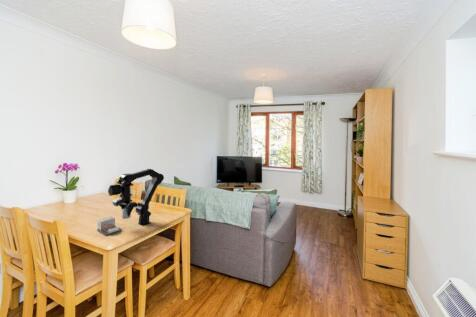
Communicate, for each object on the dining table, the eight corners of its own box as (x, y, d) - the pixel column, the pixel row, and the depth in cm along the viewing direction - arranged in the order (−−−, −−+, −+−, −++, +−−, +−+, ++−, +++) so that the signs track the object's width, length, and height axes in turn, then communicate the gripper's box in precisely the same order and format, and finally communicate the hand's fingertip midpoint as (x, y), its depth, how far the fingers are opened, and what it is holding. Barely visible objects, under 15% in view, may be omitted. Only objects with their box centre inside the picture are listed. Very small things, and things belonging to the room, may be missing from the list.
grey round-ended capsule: (128, 215, 161) (128, 207, 160) (132, 217, 158) (131, 208, 157) (121, 217, 157) (120, 209, 156) (124, 219, 154) (124, 210, 153)
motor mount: (112, 226, 163) (112, 216, 162) (121, 230, 155) (121, 220, 154) (97, 230, 155) (96, 220, 154) (105, 236, 147) (105, 225, 146)
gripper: (107, 192, 155) (107, 215, 156) (120, 197, 144) (121, 221, 145) (123, 189, 164) (124, 211, 165) (137, 194, 153) (138, 217, 154)
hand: (126, 215), depth 157 cm, fingers closed on grey round-ended capsule, 5 cm apart
